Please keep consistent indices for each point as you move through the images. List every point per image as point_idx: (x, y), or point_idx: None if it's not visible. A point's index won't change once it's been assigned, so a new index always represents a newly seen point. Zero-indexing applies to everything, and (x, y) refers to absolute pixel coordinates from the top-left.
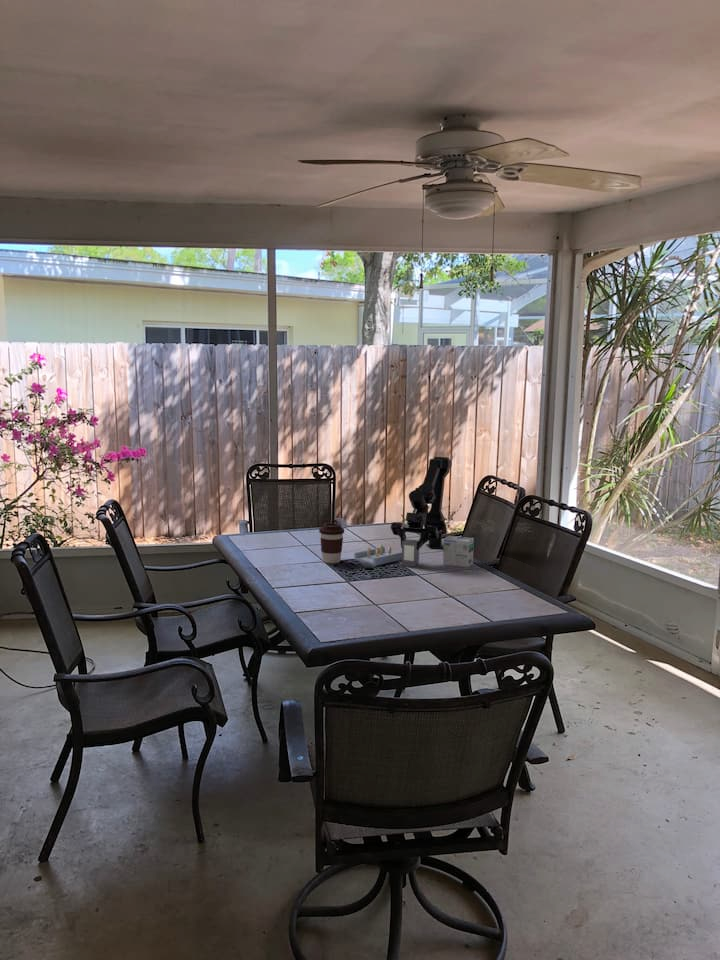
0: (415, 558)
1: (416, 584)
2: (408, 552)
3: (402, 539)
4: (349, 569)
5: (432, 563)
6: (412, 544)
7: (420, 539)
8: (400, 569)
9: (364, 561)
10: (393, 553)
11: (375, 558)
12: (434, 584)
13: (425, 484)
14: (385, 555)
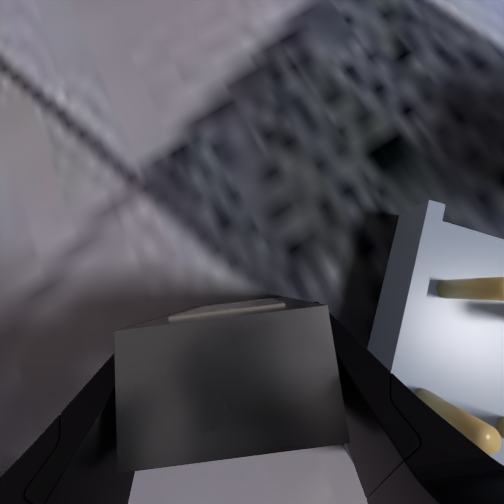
0: (187, 310)
1: (88, 52)
2: (238, 304)
3: (358, 373)
4: (459, 96)
5: None
6: (184, 318)
7: (62, 443)
8: (253, 226)
9: (488, 239)
10: None
11: (427, 202)
12: (16, 90)
13: None
14: (418, 303)
